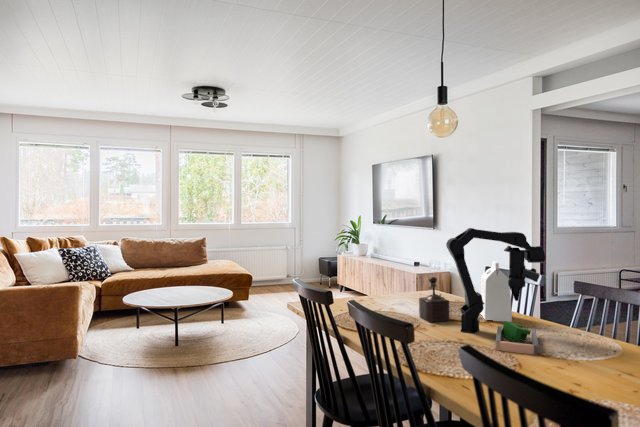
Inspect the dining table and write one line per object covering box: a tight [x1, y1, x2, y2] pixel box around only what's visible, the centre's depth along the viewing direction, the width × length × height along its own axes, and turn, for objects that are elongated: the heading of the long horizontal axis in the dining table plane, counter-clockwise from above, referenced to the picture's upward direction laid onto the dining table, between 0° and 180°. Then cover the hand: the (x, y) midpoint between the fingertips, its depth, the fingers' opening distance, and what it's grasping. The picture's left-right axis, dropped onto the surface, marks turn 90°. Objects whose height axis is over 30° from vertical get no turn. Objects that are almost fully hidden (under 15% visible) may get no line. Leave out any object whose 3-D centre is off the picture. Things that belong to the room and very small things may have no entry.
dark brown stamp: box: [418, 276, 450, 323], centre depth 211 cm, size 16×11×18 cm
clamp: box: [502, 321, 532, 343], centre depth 178 cm, size 12×6×9 cm, turn 176°
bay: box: [494, 325, 539, 356], centre depth 173 cm, size 14×24×3 cm, turn 157°
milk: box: [479, 260, 513, 323], centre depth 211 cm, size 12×12×26 cm
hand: (516, 300), depth 188 cm, fingers closed
